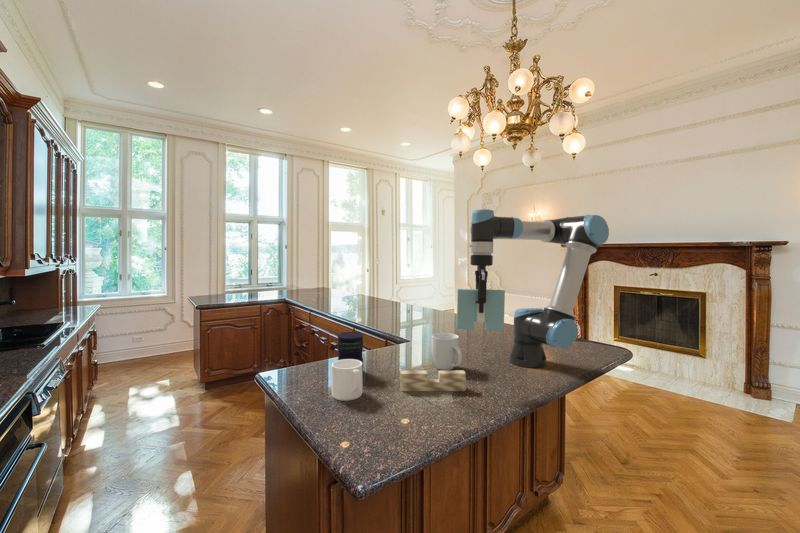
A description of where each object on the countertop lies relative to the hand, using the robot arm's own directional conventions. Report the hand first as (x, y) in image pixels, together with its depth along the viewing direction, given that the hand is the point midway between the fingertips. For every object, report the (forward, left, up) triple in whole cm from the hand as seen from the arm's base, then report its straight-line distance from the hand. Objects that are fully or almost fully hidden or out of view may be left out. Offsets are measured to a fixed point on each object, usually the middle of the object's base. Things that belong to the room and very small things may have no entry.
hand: (480, 320), depth 124 cm
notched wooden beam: (+17, +4, -23) cm, 29 cm away
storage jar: (+47, -12, -23) cm, 54 cm away
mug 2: (+9, -17, -23) cm, 30 cm away
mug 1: (+45, +9, -23) cm, 51 cm away
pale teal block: (0, 0, -3) cm, 3 cm away
